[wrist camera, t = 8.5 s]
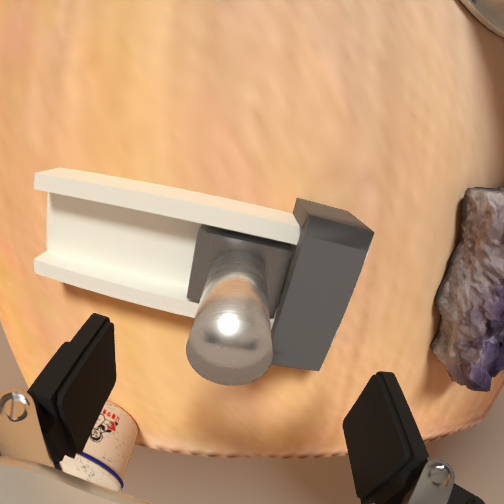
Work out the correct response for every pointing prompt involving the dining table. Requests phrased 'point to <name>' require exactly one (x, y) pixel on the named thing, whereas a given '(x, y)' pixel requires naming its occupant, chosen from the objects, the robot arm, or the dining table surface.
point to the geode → (474, 294)
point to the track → (183, 245)
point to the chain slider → (234, 303)
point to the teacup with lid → (105, 449)
